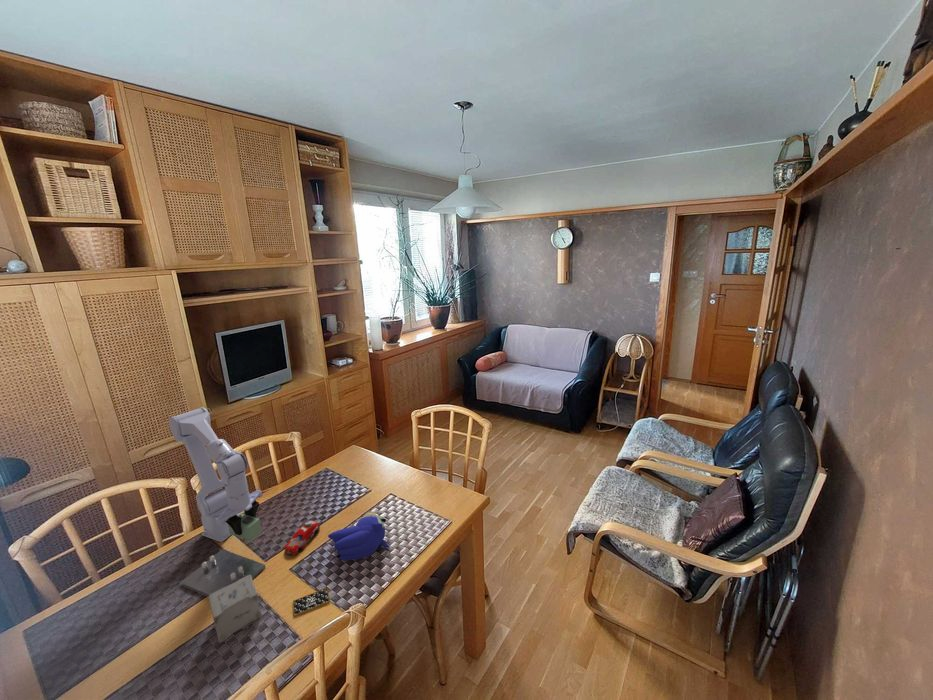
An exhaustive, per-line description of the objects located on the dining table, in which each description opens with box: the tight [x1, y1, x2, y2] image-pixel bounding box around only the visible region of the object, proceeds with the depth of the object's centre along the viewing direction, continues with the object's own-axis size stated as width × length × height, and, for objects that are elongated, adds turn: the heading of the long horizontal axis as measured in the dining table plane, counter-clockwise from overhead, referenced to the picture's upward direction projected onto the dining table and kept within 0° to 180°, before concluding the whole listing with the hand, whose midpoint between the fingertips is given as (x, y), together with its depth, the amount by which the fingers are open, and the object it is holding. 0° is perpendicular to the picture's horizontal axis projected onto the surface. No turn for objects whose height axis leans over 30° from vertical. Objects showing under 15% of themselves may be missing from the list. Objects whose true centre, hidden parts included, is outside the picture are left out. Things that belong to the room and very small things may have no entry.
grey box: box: [208, 575, 263, 644], centre depth 94 cm, size 10×8×10 cm
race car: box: [284, 520, 321, 556], centre depth 122 cm, size 13×5×4 cm, turn 162°
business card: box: [292, 587, 331, 618], centre depth 101 cm, size 9×1×5 cm
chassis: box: [180, 549, 266, 598], centre depth 109 cm, size 18×13×4 cm
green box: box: [228, 512, 263, 542], centre depth 116 cm, size 9×4×6 cm, turn 71°
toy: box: [327, 512, 390, 561], centre depth 119 cm, size 10×17×15 cm
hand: (245, 528), depth 116 cm, fingers closed on green box, 4 cm apart
